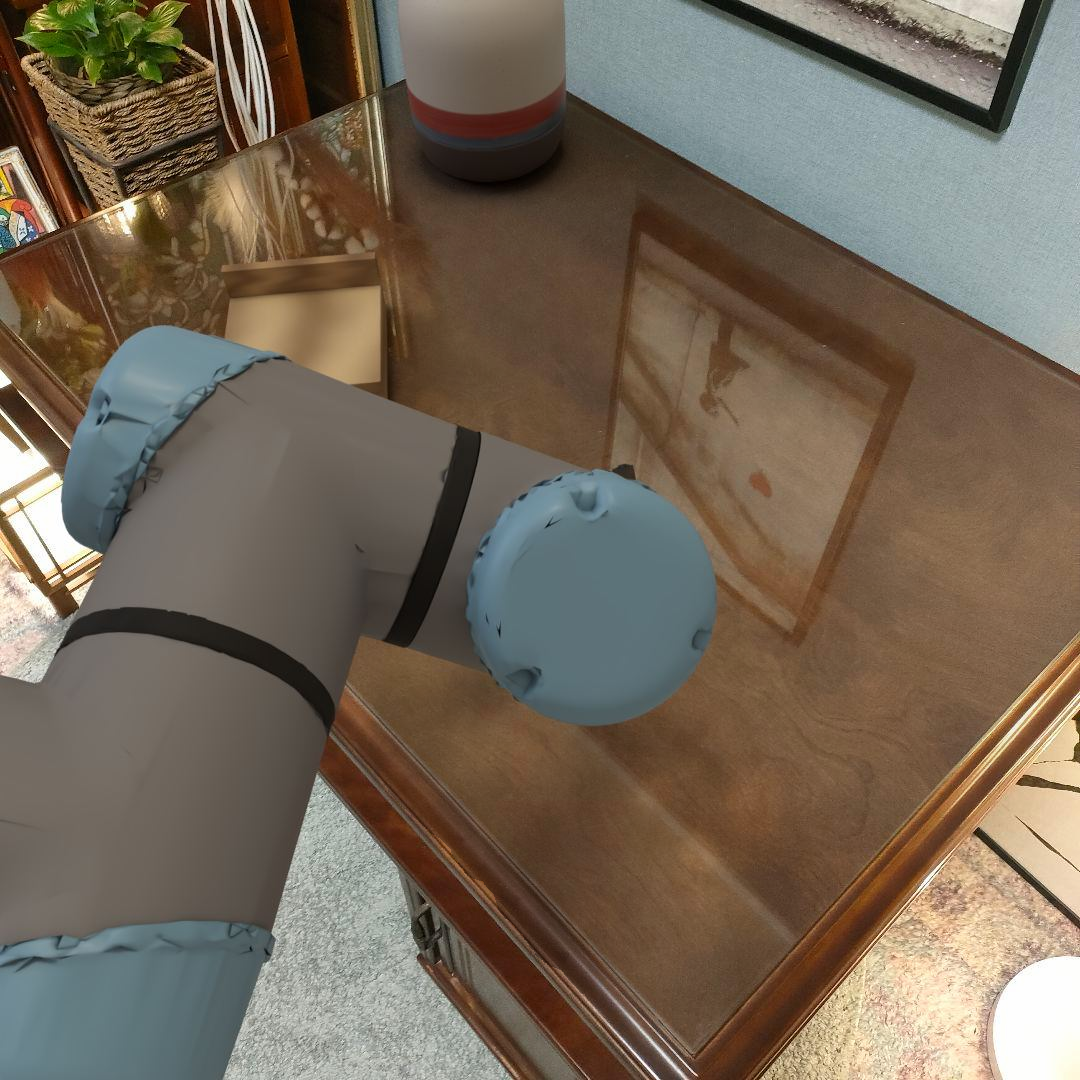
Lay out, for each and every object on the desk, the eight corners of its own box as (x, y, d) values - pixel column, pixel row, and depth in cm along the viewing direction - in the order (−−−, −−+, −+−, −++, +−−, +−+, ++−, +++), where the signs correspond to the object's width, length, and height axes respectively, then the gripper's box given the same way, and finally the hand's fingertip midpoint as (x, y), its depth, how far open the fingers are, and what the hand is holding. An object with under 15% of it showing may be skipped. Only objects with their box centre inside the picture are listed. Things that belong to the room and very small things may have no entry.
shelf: (229, 429, 90) (205, 370, 84) (241, 324, 98) (221, 265, 93) (387, 414, 90) (374, 355, 85) (387, 311, 99) (375, 251, 93)
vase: (557, 199, 109) (552, -35, 90) (403, 192, 111) (366, -39, 92) (574, 114, 119) (572, -112, 101) (432, 109, 121) (405, -114, 102)
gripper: (278, 698, 43) (306, 608, 64) (789, 570, 46) (653, 525, 68) (233, 525, 42) (277, 492, 63) (760, 406, 45) (631, 414, 67)
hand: (471, 509), depth 66 cm, fingers closed on figurine, 11 cm apart
